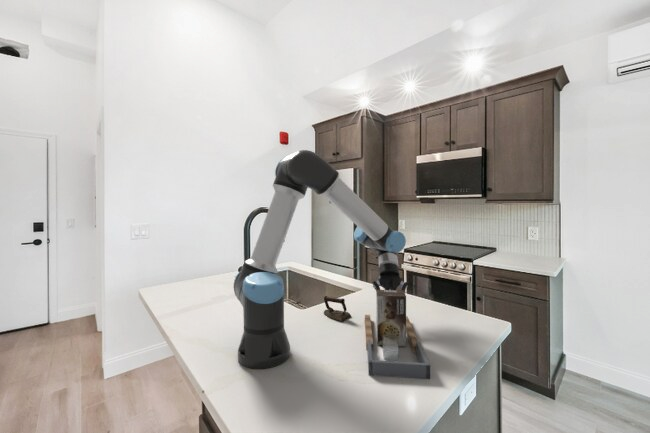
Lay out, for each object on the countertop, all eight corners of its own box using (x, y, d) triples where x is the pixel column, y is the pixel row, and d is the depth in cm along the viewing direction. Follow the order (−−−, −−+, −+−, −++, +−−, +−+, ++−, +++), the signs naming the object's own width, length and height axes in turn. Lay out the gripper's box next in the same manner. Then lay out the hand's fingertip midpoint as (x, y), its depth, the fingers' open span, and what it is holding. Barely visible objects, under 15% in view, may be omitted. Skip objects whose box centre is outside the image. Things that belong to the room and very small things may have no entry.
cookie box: (403, 337, 99) (404, 289, 98) (406, 347, 93) (407, 296, 92) (375, 336, 100) (376, 288, 99) (376, 345, 94) (377, 294, 93)
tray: (430, 378, 76) (430, 365, 76) (368, 375, 78) (368, 361, 78) (419, 353, 89) (419, 341, 89) (367, 350, 91) (367, 339, 91)
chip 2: (398, 360, 85) (398, 346, 85) (383, 359, 86) (383, 346, 85) (396, 353, 89) (396, 340, 89) (382, 352, 90) (383, 339, 89)
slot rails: (420, 353, 89) (420, 346, 89) (366, 350, 91) (366, 344, 91) (407, 321, 113) (407, 316, 113) (364, 319, 115) (364, 314, 114)
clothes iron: (343, 324, 112) (336, 298, 112) (320, 324, 119) (313, 299, 119) (352, 316, 118) (346, 291, 118) (330, 316, 124) (324, 293, 124)
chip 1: (397, 353, 89) (397, 340, 89) (383, 352, 90) (383, 339, 89) (395, 346, 93) (395, 334, 93) (382, 346, 94) (382, 333, 93)
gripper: (404, 272, 118) (411, 332, 102) (371, 272, 119) (373, 330, 104) (407, 262, 113) (415, 323, 97) (372, 261, 114) (374, 322, 98)
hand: (393, 327), depth 100 cm, fingers closed
